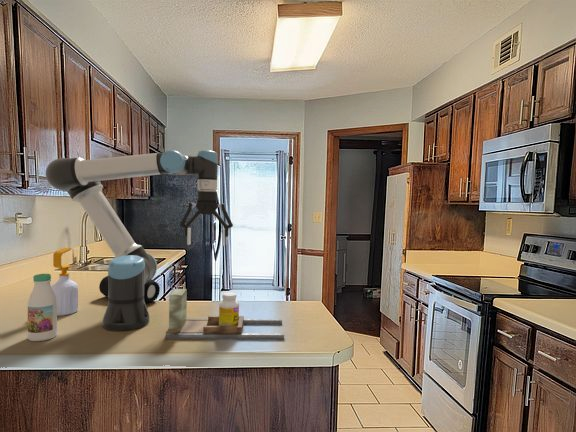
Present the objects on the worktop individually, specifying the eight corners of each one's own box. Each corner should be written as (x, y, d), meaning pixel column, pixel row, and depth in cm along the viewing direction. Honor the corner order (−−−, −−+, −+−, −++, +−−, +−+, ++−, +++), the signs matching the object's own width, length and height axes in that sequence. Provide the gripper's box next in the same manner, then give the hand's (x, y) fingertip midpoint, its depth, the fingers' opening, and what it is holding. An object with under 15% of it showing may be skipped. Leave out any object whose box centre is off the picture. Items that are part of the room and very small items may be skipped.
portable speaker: (161, 300, 160) (161, 277, 159) (145, 306, 151) (145, 282, 150) (115, 293, 168) (115, 272, 168) (97, 299, 159) (97, 276, 159)
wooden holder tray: (165, 335, 119) (166, 296, 119) (174, 323, 131) (174, 287, 130) (241, 336, 121) (242, 297, 120) (243, 324, 132) (244, 288, 132)
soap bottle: (83, 310, 143) (83, 248, 141) (60, 317, 134) (59, 251, 133) (68, 307, 146) (67, 246, 145) (44, 313, 138) (44, 248, 137)
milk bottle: (37, 332, 120) (36, 272, 119) (61, 332, 120) (61, 272, 119) (22, 342, 112) (21, 277, 111) (48, 342, 113) (48, 277, 112)
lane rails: (165, 339, 117) (165, 334, 117) (177, 322, 133) (177, 318, 133) (284, 339, 120) (284, 334, 120) (281, 323, 135) (282, 319, 135)
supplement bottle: (234, 335, 122) (235, 297, 122) (215, 333, 124) (216, 295, 123) (240, 328, 129) (241, 292, 128) (222, 326, 130) (223, 290, 129)
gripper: (172, 189, 139) (171, 245, 140) (238, 191, 140) (237, 246, 142) (177, 190, 146) (176, 242, 147) (240, 191, 148) (239, 244, 149)
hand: (206, 244), depth 145 cm, fingers open, 13 cm apart
